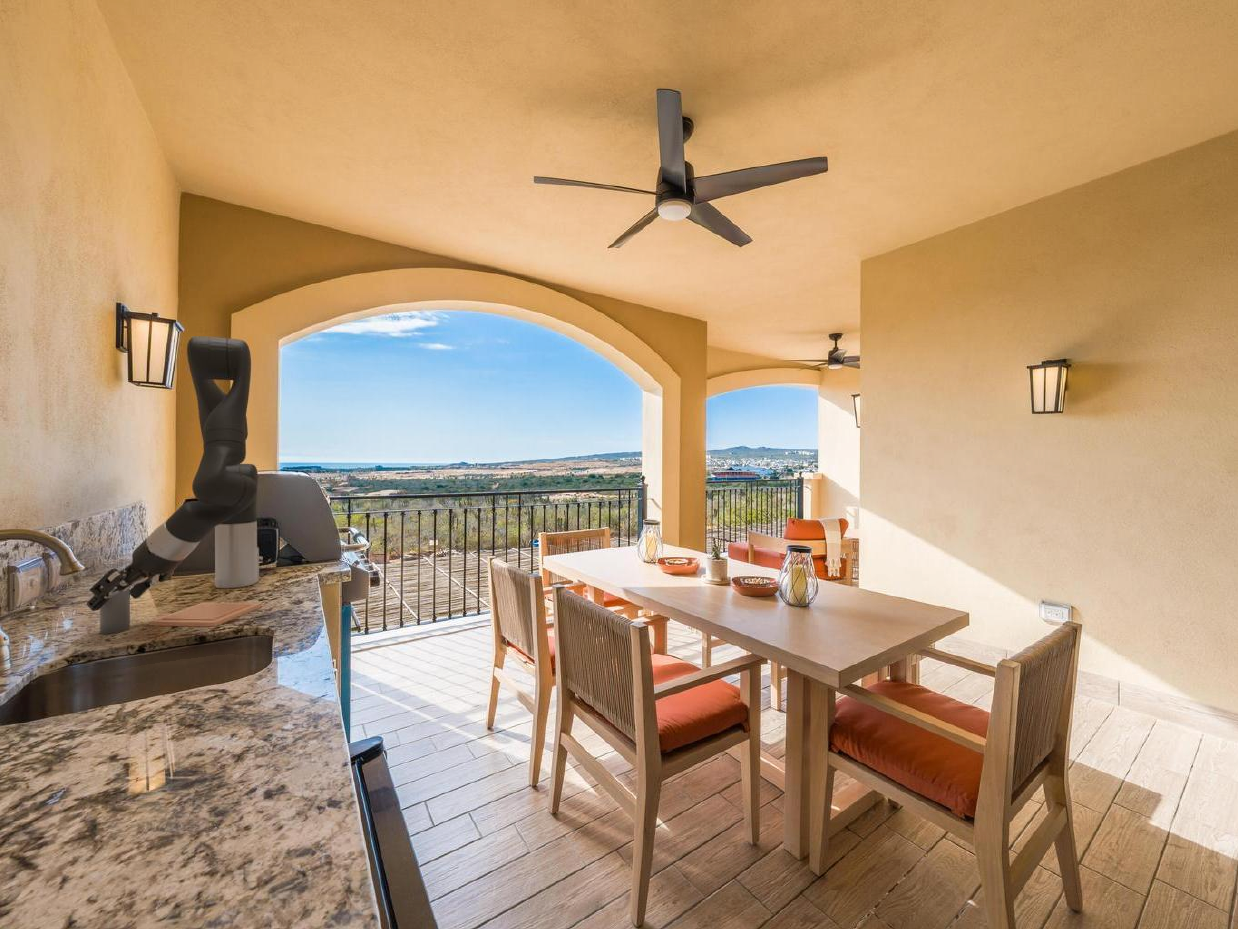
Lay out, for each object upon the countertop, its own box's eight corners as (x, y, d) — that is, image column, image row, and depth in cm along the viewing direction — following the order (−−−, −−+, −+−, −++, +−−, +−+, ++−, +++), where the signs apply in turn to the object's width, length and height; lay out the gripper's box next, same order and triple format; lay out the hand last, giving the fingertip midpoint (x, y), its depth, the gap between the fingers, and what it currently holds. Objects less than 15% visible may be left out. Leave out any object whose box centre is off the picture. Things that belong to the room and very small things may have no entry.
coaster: (202, 605, 122) (202, 601, 122) (261, 606, 122) (261, 602, 122) (148, 625, 108) (148, 620, 108) (214, 626, 108) (214, 621, 108)
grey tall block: (115, 626, 107) (114, 573, 107) (136, 626, 107) (135, 574, 107) (93, 633, 103) (92, 578, 103) (115, 634, 103) (114, 579, 103)
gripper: (185, 527, 112) (133, 579, 112) (121, 538, 98) (61, 597, 98) (210, 552, 112) (157, 604, 112) (149, 566, 98) (90, 626, 98)
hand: (113, 601), depth 105 cm, fingers open, 8 cm apart
